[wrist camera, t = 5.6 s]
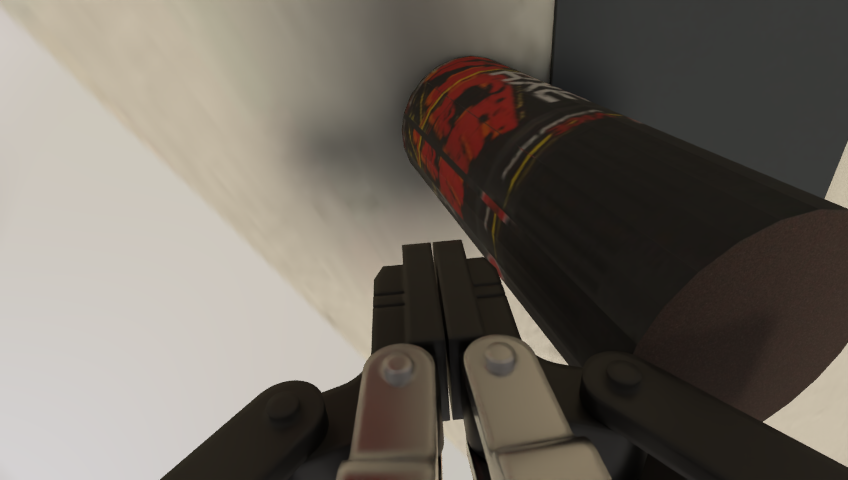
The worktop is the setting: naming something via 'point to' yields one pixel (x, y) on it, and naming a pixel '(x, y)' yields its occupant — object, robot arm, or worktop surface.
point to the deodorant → (635, 235)
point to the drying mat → (718, 76)
